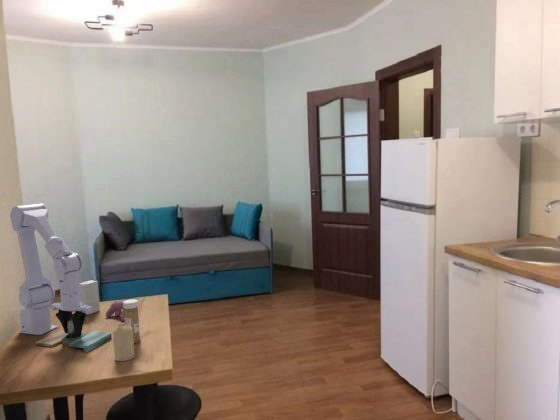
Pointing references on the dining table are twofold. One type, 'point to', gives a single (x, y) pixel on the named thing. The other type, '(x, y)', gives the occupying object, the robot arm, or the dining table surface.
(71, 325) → the pin
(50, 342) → the hinge
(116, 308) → the video game controller
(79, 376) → the dining table surface
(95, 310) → the skincare box
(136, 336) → the sprinkles bottle
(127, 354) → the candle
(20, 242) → the robot arm
